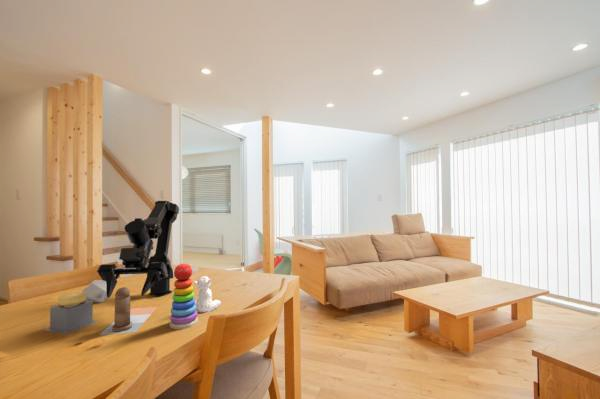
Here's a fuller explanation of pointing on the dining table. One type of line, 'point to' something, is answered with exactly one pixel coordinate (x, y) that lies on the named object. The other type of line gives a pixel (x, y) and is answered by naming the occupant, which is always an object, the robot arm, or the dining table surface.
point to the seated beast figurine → (205, 296)
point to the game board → (133, 320)
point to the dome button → (71, 299)
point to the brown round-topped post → (122, 310)
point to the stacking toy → (183, 299)
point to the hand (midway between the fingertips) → (125, 296)
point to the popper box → (70, 317)
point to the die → (96, 291)
